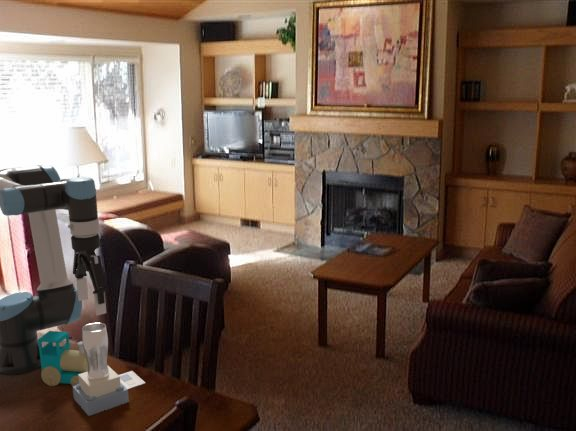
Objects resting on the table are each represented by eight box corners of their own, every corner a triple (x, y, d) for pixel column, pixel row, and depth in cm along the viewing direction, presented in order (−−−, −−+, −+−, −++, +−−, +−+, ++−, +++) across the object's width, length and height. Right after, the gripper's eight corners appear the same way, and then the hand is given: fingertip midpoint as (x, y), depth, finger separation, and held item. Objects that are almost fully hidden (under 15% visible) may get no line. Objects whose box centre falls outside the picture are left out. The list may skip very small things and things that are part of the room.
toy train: (92, 389, 188) (87, 344, 185) (42, 385, 191) (36, 340, 188) (104, 376, 196) (99, 333, 192) (55, 373, 199) (50, 329, 195)
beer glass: (81, 380, 177) (76, 331, 174) (92, 368, 184) (87, 321, 180) (104, 381, 176) (100, 332, 173) (114, 370, 183) (110, 322, 180)
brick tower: (73, 398, 183) (71, 374, 181) (112, 385, 190) (110, 361, 188) (88, 416, 174) (85, 390, 172) (128, 401, 181) (126, 376, 179)
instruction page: (111, 378, 195) (111, 377, 195) (132, 371, 199) (132, 370, 199) (124, 390, 187) (124, 389, 187) (145, 383, 191) (145, 382, 191)
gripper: (56, 227, 177) (64, 297, 182) (88, 246, 158) (95, 324, 163) (82, 223, 182) (89, 291, 187) (116, 241, 163) (122, 316, 168)
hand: (92, 306), depth 175 cm, fingers open, 13 cm apart
